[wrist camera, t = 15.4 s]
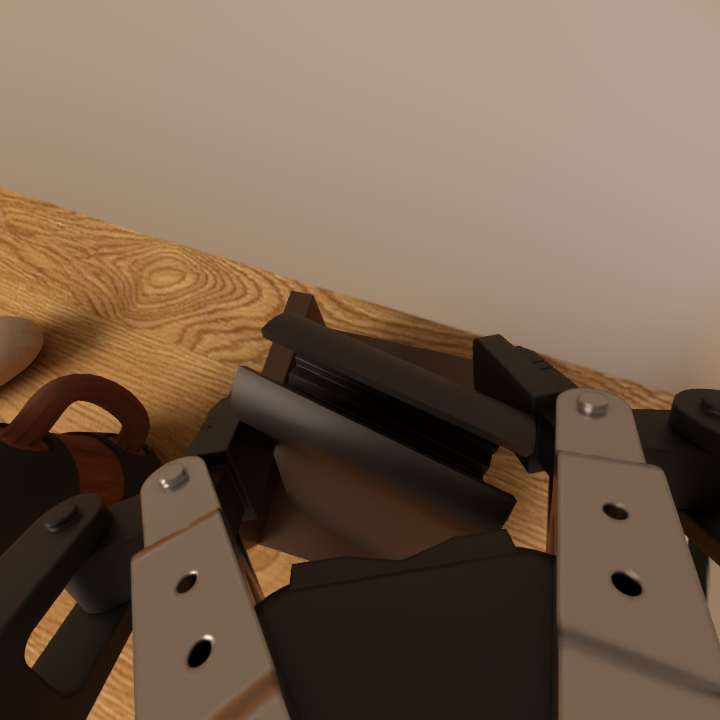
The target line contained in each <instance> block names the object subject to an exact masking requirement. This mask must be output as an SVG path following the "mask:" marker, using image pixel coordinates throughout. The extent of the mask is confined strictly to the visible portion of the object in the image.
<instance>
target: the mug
mask: <svg viewBox="0 0 720 720" xmlns="http://www.w3.org/2000/svg"><path fill="white" fill-rule="evenodd" d="M79 400H80V401H86V402H90V403H93V404H96V405H98V406H100V407H102V408H103V409H105V410H106V411H108V412H109V413H111V414H112V415H113V416H114V417H116V418H117V419H118V420H119V422H120V423H121V425H122V429H121V431H120V433H119V434H114V433H101V432H68V433H62V434H57V433H50V432H48V431H49V430H50V429H51V428H52V427H53V425H54V424H55V423H56V421H57V420H58V419H59V417H60V416H61V415H62V413H63V412H64V411H65V410H66V408H67V407H68V406H69V405H71V404H72V403H73V402H75V401H79ZM149 429H150V424H149V417H148V414H147V411H146V410H145V408H144V406H143V405H142V404H141V402H140V401H139V400H138V399H137V398H136V397H135V396H134V395H133V394H132V393H131V392H130V391H128V390H127V389H126V388H124V387H123V386H121V385H119V384H117V383H116V382H114V381H111V380H109V379H106V378H103V377H101V376H96V375H92V374H71V375H67V376H62V377H59V378H57V379H55V380H52V381H50V382H48V383H47V384H46V385H44V386H43V387H41V388H40V389H39V390H38V391H37V392H36V393H35V394H34V395H33V396H32V397H31V398H30V399H29V401H28V402H27V403H26V404H25V406H24V407H23V409H22V410H21V411H20V413H19V414H18V415H17V416H16V418H15V419H14V420H13V421H12V422H11V423H10V424H6V423H0V557H1V556H2V555H3V553H4V552H5V551H6V550H7V549H8V548H9V547H10V546H11V545H12V544H13V543H14V542H15V541H16V540H17V539H18V538H19V537H20V536H21V535H22V534H23V533H24V532H25V531H26V530H27V529H28V528H29V527H30V526H31V525H32V524H33V523H34V522H35V521H36V520H37V519H38V518H39V517H41V516H42V515H43V514H44V513H46V512H47V511H48V510H50V509H51V508H53V507H54V506H56V505H58V504H59V503H61V502H63V501H65V500H67V499H69V498H72V497H74V496H77V495H80V494H85V493H96V494H99V495H100V496H101V498H102V499H103V501H104V502H105V504H106V505H107V506H111V505H113V504H116V503H118V502H121V501H123V500H126V499H128V498H131V497H134V496H136V495H139V494H140V492H141V488H142V485H143V484H144V482H145V481H146V479H147V478H148V477H149V476H150V475H151V474H152V473H153V472H155V471H156V470H157V469H159V468H160V467H162V464H161V462H160V460H159V459H158V457H157V456H156V454H155V453H154V452H153V450H152V449H151V448H149V447H148V446H147V445H146V444H144V442H145V441H146V438H147V436H148V434H149Z"/></svg>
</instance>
